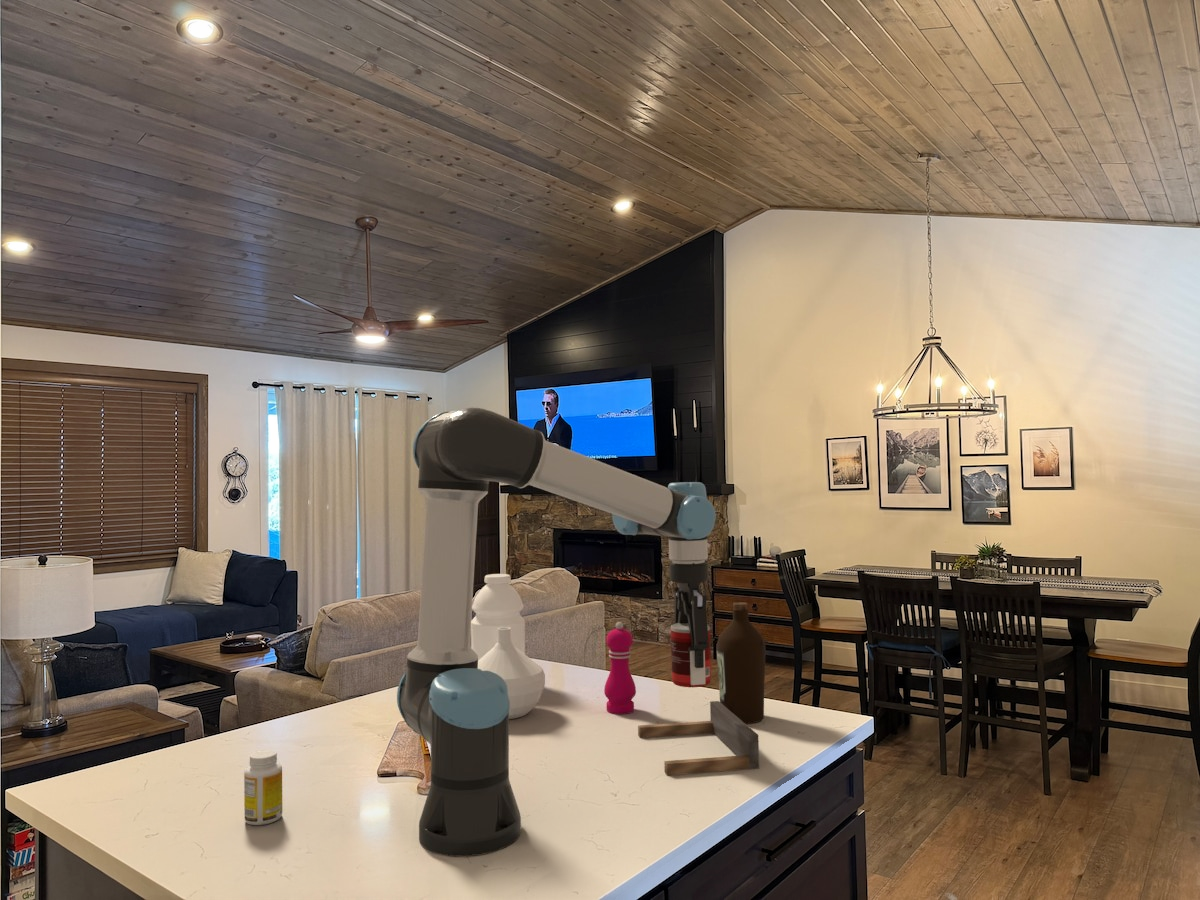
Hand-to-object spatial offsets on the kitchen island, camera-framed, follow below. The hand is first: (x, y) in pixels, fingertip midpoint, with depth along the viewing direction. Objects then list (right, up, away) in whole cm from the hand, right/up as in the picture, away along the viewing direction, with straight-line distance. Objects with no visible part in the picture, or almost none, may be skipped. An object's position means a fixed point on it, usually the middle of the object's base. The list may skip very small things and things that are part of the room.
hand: (691, 678), depth 161 cm
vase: (-39, -15, +26) cm, 49 cm away
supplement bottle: (-71, -14, -31) cm, 78 cm away
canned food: (0, -1, 0) cm, 1 cm away
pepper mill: (-13, -15, +28) cm, 34 cm away
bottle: (-44, -16, +51) cm, 69 cm away
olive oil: (+13, -15, +21) cm, 29 cm away
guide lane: (0, -14, -1) cm, 14 cm away
